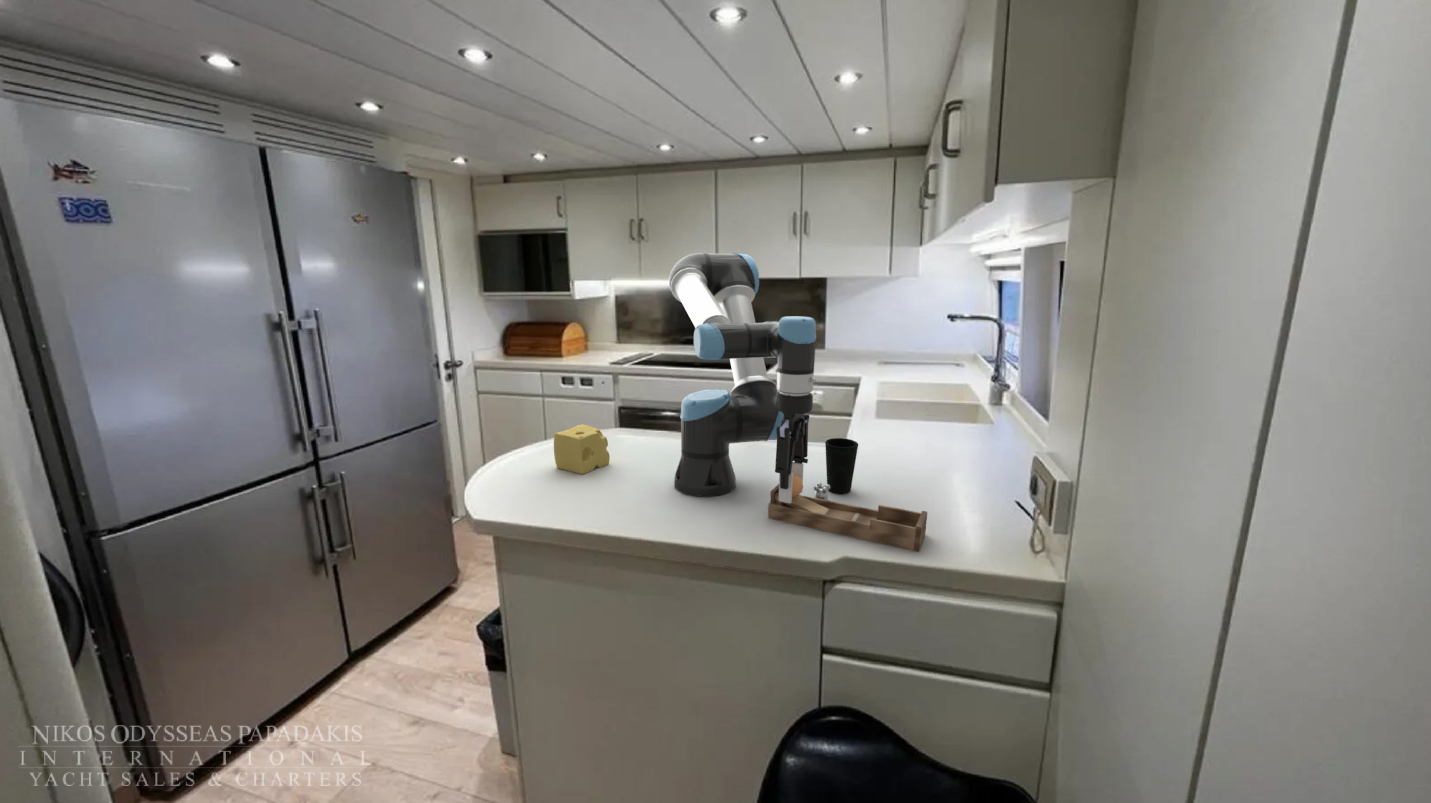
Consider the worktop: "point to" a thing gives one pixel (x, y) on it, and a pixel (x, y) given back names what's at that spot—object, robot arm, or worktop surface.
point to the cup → (840, 464)
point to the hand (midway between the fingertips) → (790, 496)
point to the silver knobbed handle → (821, 491)
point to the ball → (796, 486)
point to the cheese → (580, 449)
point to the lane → (853, 520)
